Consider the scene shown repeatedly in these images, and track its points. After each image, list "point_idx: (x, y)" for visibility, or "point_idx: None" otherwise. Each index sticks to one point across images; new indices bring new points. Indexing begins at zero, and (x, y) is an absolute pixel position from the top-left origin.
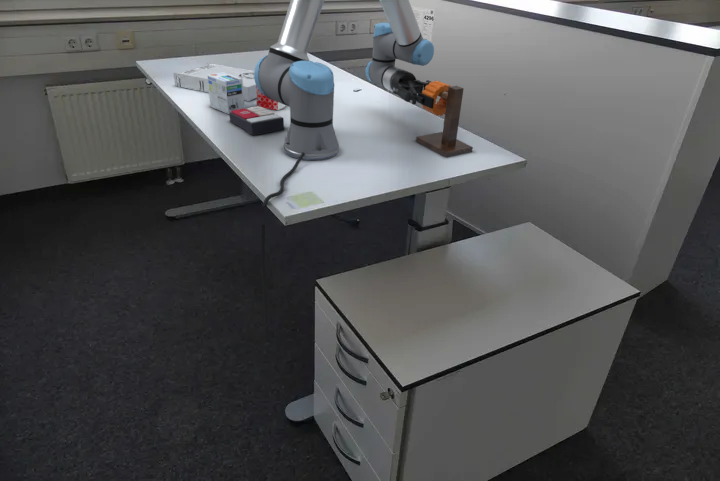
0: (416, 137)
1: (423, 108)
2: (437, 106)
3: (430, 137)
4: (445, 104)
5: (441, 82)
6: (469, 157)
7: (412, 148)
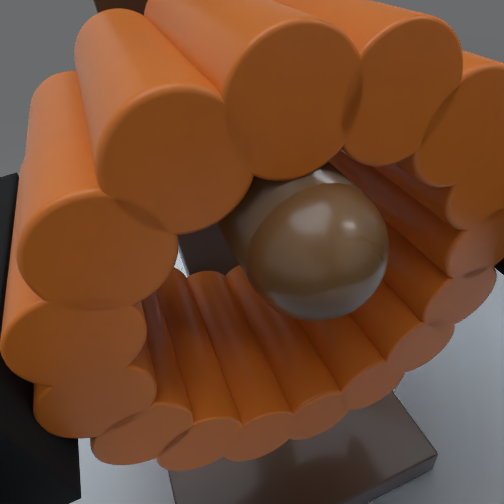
0: (434, 450)
1: (435, 353)
2: (255, 354)
3: (325, 434)
4: (172, 298)
5: (145, 47)
6: (184, 269)
7: (448, 349)
